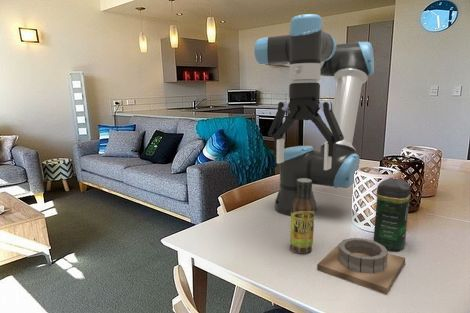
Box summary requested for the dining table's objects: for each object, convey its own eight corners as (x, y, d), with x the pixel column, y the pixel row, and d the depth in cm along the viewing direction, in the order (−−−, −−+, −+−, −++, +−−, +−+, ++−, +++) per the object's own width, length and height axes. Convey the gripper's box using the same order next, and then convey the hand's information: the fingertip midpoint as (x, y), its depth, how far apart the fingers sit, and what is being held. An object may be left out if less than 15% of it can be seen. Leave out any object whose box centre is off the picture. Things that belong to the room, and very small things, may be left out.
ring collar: (317, 269, 79) (317, 250, 78) (342, 245, 91) (343, 228, 90) (386, 294, 69) (388, 273, 68) (405, 263, 81) (406, 244, 80)
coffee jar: (402, 254, 86) (407, 186, 82) (370, 246, 90) (374, 182, 86) (407, 240, 93) (413, 178, 90) (378, 234, 98) (382, 174, 94)
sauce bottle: (292, 255, 86) (293, 183, 82) (287, 244, 92) (288, 177, 88) (316, 254, 86) (318, 182, 83) (310, 243, 93) (311, 176, 89)
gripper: (255, 83, 86) (255, 162, 90) (348, 79, 70) (344, 175, 74) (270, 84, 91) (270, 158, 95) (360, 80, 75) (355, 169, 80)
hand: (302, 165), depth 85 cm, fingers open, 13 cm apart
